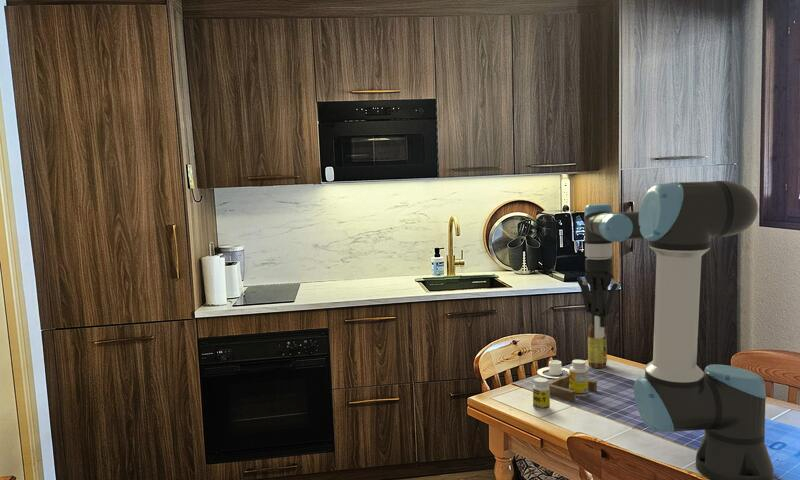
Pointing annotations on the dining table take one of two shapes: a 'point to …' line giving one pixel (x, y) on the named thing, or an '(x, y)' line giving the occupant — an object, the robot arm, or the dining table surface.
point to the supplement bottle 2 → (578, 378)
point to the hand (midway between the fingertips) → (599, 337)
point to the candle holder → (553, 369)
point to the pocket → (567, 394)
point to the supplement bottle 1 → (541, 394)
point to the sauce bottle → (596, 348)
